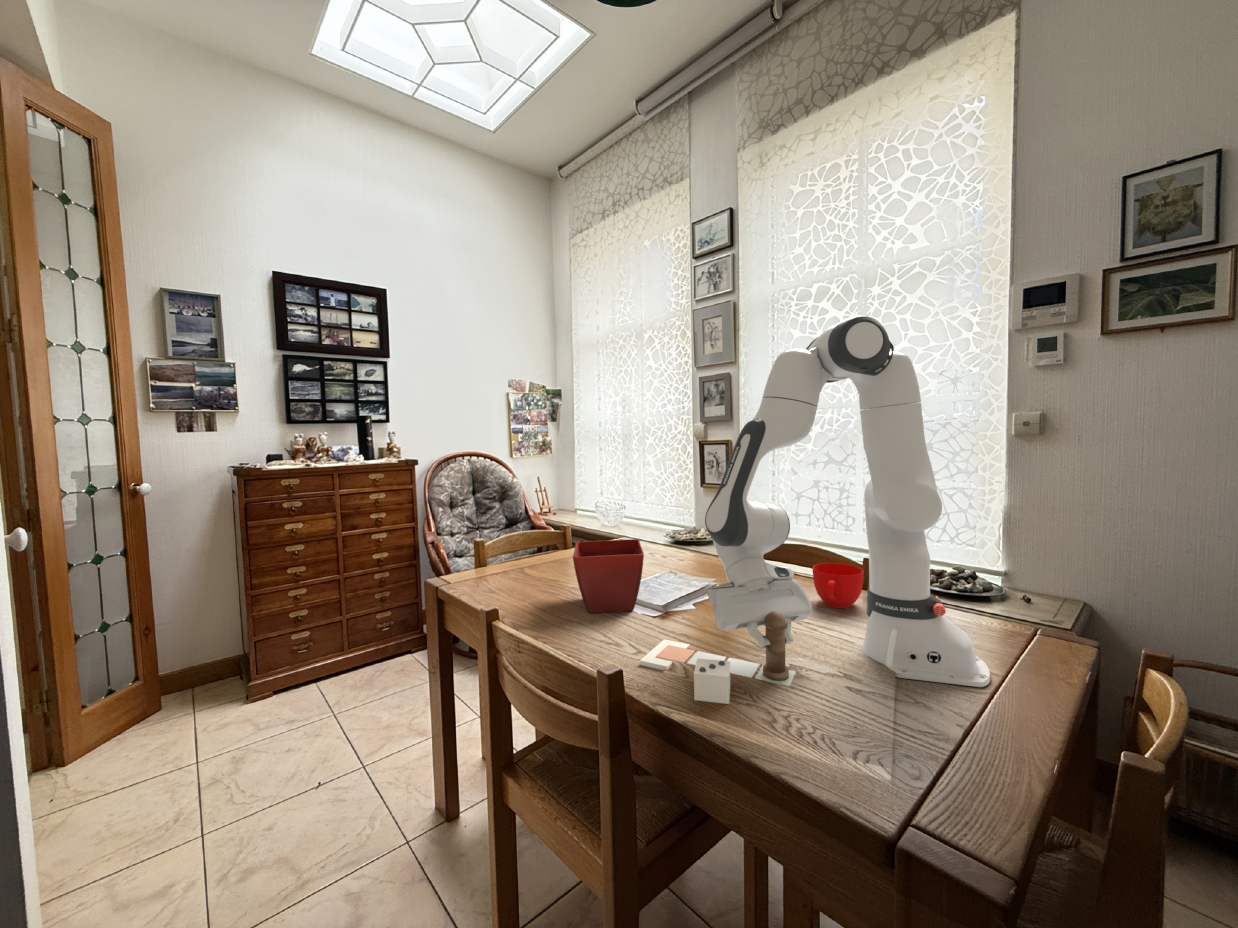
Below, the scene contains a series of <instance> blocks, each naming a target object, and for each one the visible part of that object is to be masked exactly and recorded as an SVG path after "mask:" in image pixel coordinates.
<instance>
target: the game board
mask: <svg viewBox="0 0 1238 928" xmlns="http://www.w3.org/2000/svg"><path fill="white" fill-rule="evenodd" d="M689 646H690V644H689V643H684V642H678V641H674V640H669V639H665V638H664V639H663V640H661V641H660V642H659V643H658V644H657V645H656V646H655V647H654V648H652V650H650V651H649V652H648V653H647V654H646V655H644V656H643V657H642V658H641V659H640V660H639V665H640V666H644V667H647V668H651V669H656V670H659V671H663V672H664V671H665V670H666V669H667V668H668V667H669V666H670V665H672V663H673V662H677V663H685V662H686V661H687V660H688V659H689V658H690V659H689V660H688V661H687V662H686V664H687V665H692V666H696V662H697V658H698V659H709V660H720V661H730V674H733V675H737V676H743V677H746V678H751V679H752V678H753V677H754V675H755V673H756V672H757V670H758V669H759V667H760V665H761V663H758V662H757V663H756V662H753V661H748V660H743V659H739V658H738V659H737V658H733V657H728V659H727V660H726V658H727V656H723V655H720V654H719V655H718V654H714V653H709V652H704V651H700V650H698V651H696V650H694V649H689V648H688V647H689ZM695 651H696V652H695ZM694 652H695V653H694ZM692 655H693V656H692ZM691 656H692V657H691ZM764 665H765V664H762V666H761V667H760V669H759V671H758V672H757V674H756V676H755V677H754V679H755V680H761V681H763V682H764V681H765V682H769V683H773V684H777V685H783V686H785V687H786V686H787V687H791V684H792V682H793V679H794V678H795V675H796V673H797V671H795V670H790V669H789V678H788V679H786V680H783V681H774V680H770V679H768V678H766V677H765V676H764V675H763V666H764Z"/></svg>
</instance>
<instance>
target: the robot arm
mask: <svg viewBox="0 0 1238 928" xmlns="http://www.w3.org/2000/svg"><path fill="white" fill-rule="evenodd" d="M848 379H849V380H851V382H852V383H853V384H854V386H855V387H856V390H857V393H858V398H859V399H858V400H859V401H858V403H859V413H860V414H859V415H860V423H861V432H862V441H863V443H862V444H863V449H864V453H865V456H866V461H867V464H868V465H867V466H868V471H869V474H870V480H869V481H868V482H867V483H866V486H865V489H864V494H863V495H864V512H865V513H864V516H865V527H866V537H867V543H868V544H867V547H868V587H867V588H866V593H865V611H866V614H867V620H866V622H867V623H866V627H865V629H866V630H865V634H864V638H863V642H862V645H861V648H860V649H861V651H862V652H863V653H864V655H865V656H867V657H869V658H870V659H872V660H874V661H875V662H878V663H880V664H882V665H884V666H886V667H887V668H888V669H890V670H891V671H893V672H894V677H896V678H900V679H909V680H915V681H917V680H918V681H925V682H935V683H942V684H949V685H951V684H952V685H958V686H969V687H976V688H984V687H986V686H987V685H989V684H990V682H991V673H990V668H989V666H988V665H987V664H986V662H985V661H984V660H983V659H982V658H980V657H979V656H978V655H976V650H975V647H974V644H973V642H972V640H971V638H970V636H968V634H967V633H966V632H965V631H963V630H962V629H961V628H959V627H958V626H957V625H955V624H954V623H953V622H952V621H950V620H949V619H948V618H946V616H945V614H946V612H947V611H946V607H945V605H944V604H943V602H942V601H941V600H940V598H939V597H938V596H937V595H935V596H934V595H933V594H931V556H930V553H929V548H928V545H927V538H926V532H925V531H926V530H928V529H930V528H932V527H933V526H935V525H936V523H937V522H938V520H939V519H940V518H941V515H942V512H943V502H942V499H941V497H940V495H939V492H938V491H939V490H938V488H937V484H936V479H935V474H934V470H933V466H932V462H931V458H930V455H929V452H928V449H927V443H926V438H925V437H926V436H925V428H924V427H925V426H924V418H923V417H924V416H923V411H922V410H923V409H922V407H923V406H922V399H921V392H920V391H921V390H920V386H919V381H918V377H917V374H916V371H915V367H914V365H913V362H912V359H911V358H910V357H909V356H908V355H906V353H903V352H899V351H895V346H894V344H893V343H892V342H891V341H890V338H889V335H888V333H887V330H886V329H885V327H884V326H883V324H882V323H881V322H880V321H878V320H877V319H875V318H873V317H871V316H867V315H856V316H851V317H847V318H844V319H842V320H841V321H840V322H838V323H836V324H833V325H832V326H830V327H828V328H827V329H826V330H824V331H823V332H822V333H821V334H820V335H819V336H817V337H816V338H815V339H814V340H812V341H811V342H810V343H809V345H807V347H806V348H805V349H803V348H792V349H788V350H784V351H783V352H781V353H780V354H779V355H778V356H777V357H776V359H775V360H774V363H773V365H772V367H771V370H770V372H769V374H768V377H767V380H766V384H765V387H764V390H763V395H762V397H761V398H762V399H761V402H760V406H759V408H758V410H757V412H756V414H755V416H754V417H753V418H752V419H751V420H749V421H748V422H747V423H746V424H745V425H744V426H743V427H742V429H741V431H740V433H739V434H738V437H737V439H736V441H735V444H734V447H733V450H732V451H731V454H730V456H729V457H730V458H729V460H728V462H727V466H726V467H725V470H724V473H723V476H722V478H721V480H720V481H721V482H720V484H719V487H718V489H717V491H716V493H715V495H714V497H713V499H712V501H711V502H710V504H709V505H708V507H707V510H706V512H705V513H706V514H705V518H704V521H705V523H704V524H705V528H706V530H707V532H708V534H709V536H710V537H711V539H712V542H713V546H714V549H715V551H716V554H717V557H718V559H719V560H720V561H721V563H722V564H723V568H724V574H725V576H726V577H725V578H726V580H727V582H724V583H720V584H718V583H717V584H713V585H711V587H709V588H708V590H707V597H708V600H709V603H711V605H712V611H713V616H714V620H715V623H716V626H717V628H718V629H720V630H721V631H722V632H725V631H733V630H740V629H746V630H747V633H748V634H749V635H750V636H752V638H754V639H755V640H756V641H757V643H758V646H759V648H760V649H766V647H769V646H770V641H769V640H768V639H769V638H768V636H767V635H766V634H765V635H763V634H762V633H761V631H760V630H759V629H758V628H759V627H760V626H761V627H762V626H765V623H764V620H765V617H766V615H767V614H768V613H770V612H773V611H776V612H779V613H781V614H782V615H783V616H784V617H785V620H786V627H785V645H791V644H793V642H794V639H793V635H792V633H791V630H792V622H797V621H804V620H806V619H808V618H809V616H810V615H811V614H812V613H813V606H812V603H811V601H810V599H809V597H808V595H807V593H806V591H805V590H804V588H803V587H802V585H801V584H800V583H799V582H798V581H796V580H795V579H794V577H795V573H794V571H793V570H792V569H791V568H789V567H786V566H779V565H775V564H772V563H768V562H766V561H765V558H764V555H765V554H769V553H771V552H772V551H774V550H775V549H777V548H779V547H780V546H782V545H783V544H784V543H785V542H786V540H787V539H788V537H789V535H790V531H791V530H790V529H791V522H790V517H789V516H788V514H787V511H786V510H785V509H784V508H783V506H781V505H778V504H774V503H771V502H770V503H769V502H766V501H765V502H764V501H761V500H760V501H759V500H758V501H757V500H753V499H752V500H750V499H747V496H748V494H749V491H750V488H751V485H752V483H753V481H754V478H755V475H756V472H757V470H758V466H759V464H760V462H761V460H762V459H763V458H764V457H765V456H766V455H767V454H769V453H771V452H773V451H775V450H778V449H782V448H786V447H790V446H793V445H795V444H797V443H800V442H801V441H802V440H803V439H805V438H806V437H807V436H808V435H809V434H810V431H811V430H812V428H813V425H814V423H815V419H816V414H817V410H818V406H819V402H820V395H821V392H822V390H823V387H824V386H825V385H826V384H827V383H828V384H829V383H835V382H836V383H837V382H839V381H842V380H848Z"/></svg>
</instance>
